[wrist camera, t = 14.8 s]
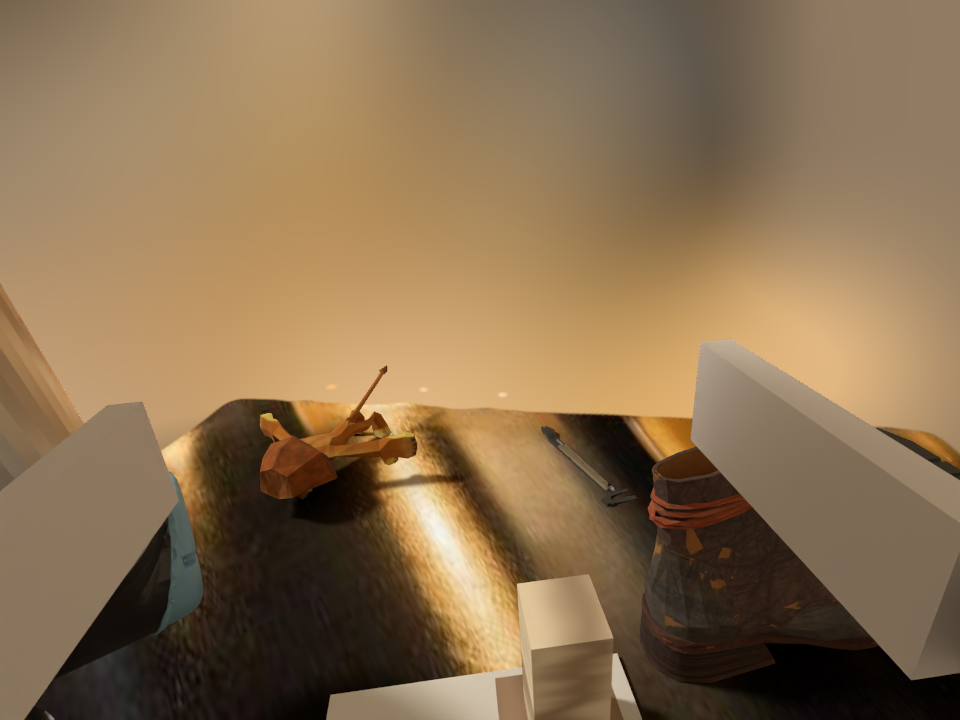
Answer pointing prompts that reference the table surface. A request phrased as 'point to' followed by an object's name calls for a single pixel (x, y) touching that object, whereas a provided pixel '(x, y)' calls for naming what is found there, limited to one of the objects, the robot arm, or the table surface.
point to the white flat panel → (450, 699)
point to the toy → (325, 451)
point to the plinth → (513, 699)
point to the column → (564, 650)
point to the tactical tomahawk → (586, 469)
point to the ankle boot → (727, 582)
